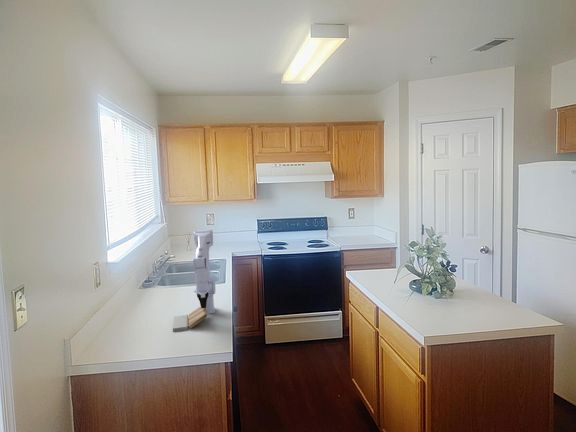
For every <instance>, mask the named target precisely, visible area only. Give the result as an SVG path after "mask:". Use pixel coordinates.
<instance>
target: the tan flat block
mask: <svg viewBox="0 0 576 432" xmlns="http://www.w3.org/2000/svg"><path fill="white" fill-rule="evenodd" d="M207 318H208V314H207V310H206V308H201V306H200V305H199V306H198V307H197V308H196V309H193V311H191V312H190V313H189V314H188V329H192V328H194V327H196V325H198V324H199V323H201V322H202V321H203V320H205V319H207Z"/></svg>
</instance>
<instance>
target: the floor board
mask: <svg viewBox="0 0 576 432" xmlns="http://www.w3.org/2000/svg"><path fill="white" fill-rule="evenodd" d="M172 322H173V323H172V324H173V325H172V332H179V331H180V332H181V331H188V330H189V326H188V322H189V314H186V315H184V314H183V315H175V316H173V321H172Z"/></svg>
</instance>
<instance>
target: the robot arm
mask: <svg viewBox="0 0 576 432" xmlns="http://www.w3.org/2000/svg"><path fill="white" fill-rule="evenodd" d="M213 233H214V231H213V230H212V229H207V230H206V229H204V230H201V229H200V230H194V231H193V240H194V244H195V246H196V247H197V248H196V249H195V253H194V255H195V256H194V258H193V261H192V262H193V265H192V266H193V269H194V275H195V289H194V290H193V292H194V293H196V296H197V299H198V301H199V307H200V306H201V308H206V310H207V315H208V314H209V315H210V314H214V313H216V309H215V302H214V295H215V294H216V281H215V279H214V278H212V277H211V275H210V248H211V247H212V246H214V245H213V244H214V234H213Z"/></svg>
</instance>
